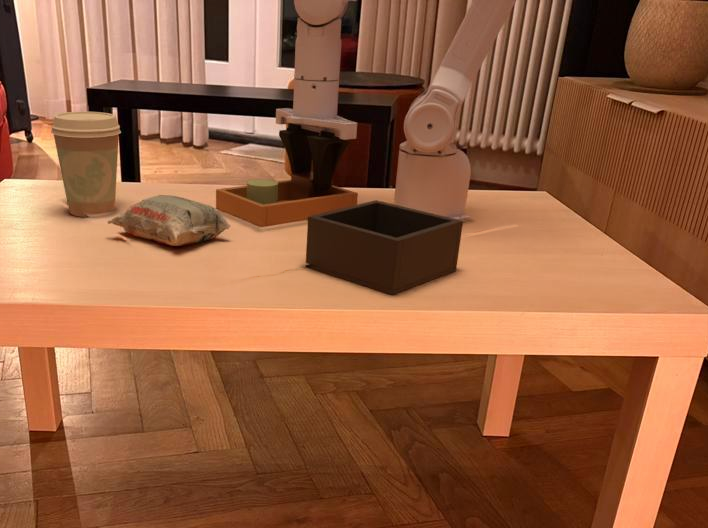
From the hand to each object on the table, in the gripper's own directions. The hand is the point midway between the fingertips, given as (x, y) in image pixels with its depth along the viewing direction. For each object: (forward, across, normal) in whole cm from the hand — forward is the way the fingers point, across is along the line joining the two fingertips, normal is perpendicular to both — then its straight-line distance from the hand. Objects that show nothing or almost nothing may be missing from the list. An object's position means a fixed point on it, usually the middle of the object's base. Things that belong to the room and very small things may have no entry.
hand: (311, 187), depth 104 cm
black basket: (+3, +24, -9) cm, 26 cm away
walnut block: (+2, 0, 0) cm, 2 cm away
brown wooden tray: (+3, 0, -4) cm, 5 cm away
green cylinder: (+3, 0, -8) cm, 8 cm away
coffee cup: (+3, -13, -26) cm, 29 cm away
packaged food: (+3, +4, -24) cm, 25 cm away
